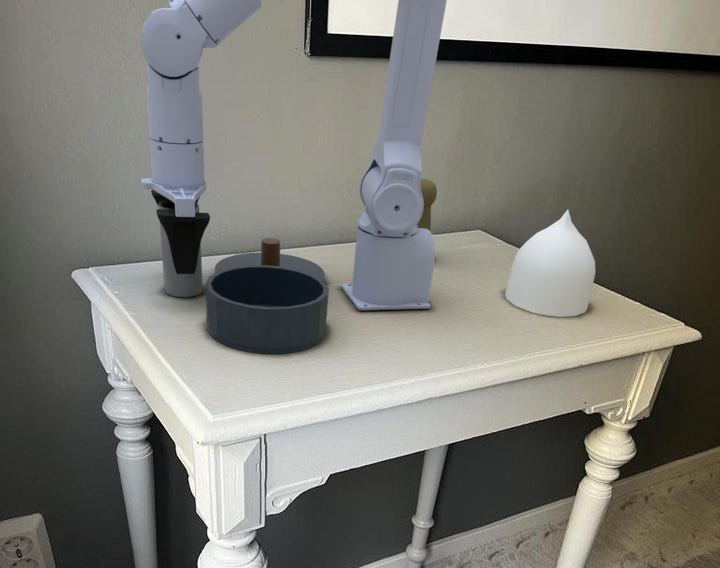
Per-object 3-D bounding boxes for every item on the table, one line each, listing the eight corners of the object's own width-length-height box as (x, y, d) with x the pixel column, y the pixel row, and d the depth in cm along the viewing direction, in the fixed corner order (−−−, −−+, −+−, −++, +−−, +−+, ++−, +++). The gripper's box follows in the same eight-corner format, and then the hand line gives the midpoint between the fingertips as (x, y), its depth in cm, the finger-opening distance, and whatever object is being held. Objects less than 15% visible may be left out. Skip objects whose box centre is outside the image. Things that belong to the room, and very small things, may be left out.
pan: (310, 305, 90) (312, 264, 87) (338, 351, 79) (342, 307, 77) (200, 307, 86) (199, 265, 83) (215, 356, 76) (214, 310, 73)
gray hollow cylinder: (192, 300, 87) (188, 211, 82) (158, 293, 88) (151, 205, 82) (208, 288, 91) (205, 202, 85) (175, 282, 92) (169, 196, 86)
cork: (387, 249, 111) (396, 172, 105) (426, 252, 111) (437, 175, 105) (392, 262, 106) (401, 182, 100) (433, 265, 107) (445, 186, 100)
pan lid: (310, 259, 104) (311, 224, 101) (336, 297, 93) (339, 258, 90) (208, 260, 99) (207, 224, 97) (223, 299, 88) (222, 259, 86)
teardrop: (605, 311, 97) (632, 218, 90) (543, 321, 92) (567, 224, 85) (548, 282, 105) (569, 195, 98) (488, 290, 100) (506, 199, 93)
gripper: (135, 124, 84) (143, 242, 92) (142, 151, 73) (151, 284, 81) (197, 127, 86) (200, 242, 94) (213, 154, 75) (216, 283, 83)
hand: (182, 262), depth 88 cm, fingers open, 7 cm apart
